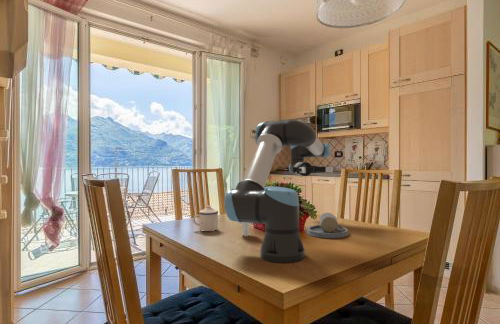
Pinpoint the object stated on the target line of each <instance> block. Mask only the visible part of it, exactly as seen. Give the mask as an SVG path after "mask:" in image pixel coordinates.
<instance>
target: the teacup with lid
mask: <svg viewBox="0 0 500 324" xmlns="http://www.w3.org/2000/svg"><path fill="white" fill-rule="evenodd" d="M197 217H199V223H197V222H196V218H197ZM192 221H193V223H194V225H196V226H199V230H204V231H213V230H217V229H218V230H219V211H218V210H217V209H215V208H213V207H212V206H211V205H206V207H205V208H203V209H201V210H199V213H198V214H196V215H194V216H193V218H192ZM218 230H217V231H218Z"/></svg>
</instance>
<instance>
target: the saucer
mask: <svg viewBox="0 0 500 324" xmlns="http://www.w3.org/2000/svg"><path fill="white" fill-rule="evenodd" d="M343 227H344V226H343ZM344 228H345V230H344V231H343V232H340V231H337V230H335V231H334V232H332V233H327V232H325V231H324V230H323V229H322V228H321V226H320V224H314V225H309V226H308V227H306V234H307V235H308V236H310V237H314V238H318V239H319V238H320V239H333V240H335V239H343V238H347V237H348V236H349V234H350V233H349V229H348V228H347V227H344Z"/></svg>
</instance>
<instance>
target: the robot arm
mask: <svg viewBox="0 0 500 324" xmlns="http://www.w3.org/2000/svg"><path fill="white" fill-rule="evenodd" d="M254 141H255V143H256V145H257V147H256V150H255V153H254V155H253V157H252V160H251V161H250V164H249V166H248V169H247V171H246V174H245V176H244V178H243V179H242V180H239V182H238V183H237V185H236V186H235V188H234V189H233V188H231V189H228V190H227V191H226V193H225V195H224V199H223V200H224V203H223V204H224V205H223V206H224V211H225V215H226V217H227V218H228V219H229V220H230V221H232V222H240V223H241V222H248V223H252V224H260V225H261V224H262V225H264V231H265V232H264V236H263V240H262V242H261V245H260V251H259V252H260V257H261V258H262V259H263V260H265V261H269V262H273V263H282V264H283V263H285V264H286V263H293V262H294V263H295V262H300V261H302V260H304V259H305V257H306V251H305V247H304V243H303V241H302V238H301V237H302V236H301V235H300V202H299V193H298V192H297V190H295V189H292V188H288V187H283V186H272V185H269V186H267V181H268V179H269V177H270V176H269V175H270V172H271V170H272V167H273V164H274V161H275V158H276V156H277V154H279V153H280V152H281V151H282V149H283V147H290V149H289V150H290V164H289V165H288V171H289V173H291V175H294V176H300V177H307V176H308V177H309V176H310V175H311V174H313V173H317V172H321V173H324V172H325V173H334V168H333V166H330V165H326V166H317V165H311V163H310V162H307V161H305V158H308V159H309V158H328V157H330V155H331V145H330V144H329V143H322V142H321V140H320V139H319V137H317V132H316V130H314V128H313V127H312V126H311V125H309V124H307V123H306V122H303V121H300V120H296V119H285V120H272V121H271V120H269V121H264V122H263V121H262V122H260V123H259V124H257V126H256V128H255V134H254Z"/></svg>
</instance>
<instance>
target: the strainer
mask: <svg viewBox="0 0 500 324" xmlns="http://www.w3.org/2000/svg"><path fill="white" fill-rule="evenodd" d="M237 224H238V225H241V235H244V236H243V237H249V236H250V225H251V224H253V223H248V222H241V223H240V222H237ZM248 235H249V236H248Z"/></svg>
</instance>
